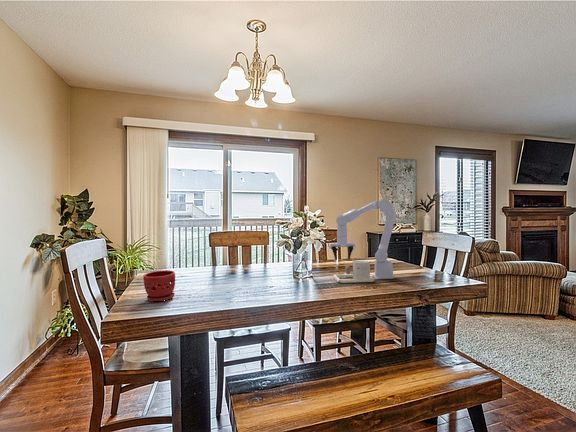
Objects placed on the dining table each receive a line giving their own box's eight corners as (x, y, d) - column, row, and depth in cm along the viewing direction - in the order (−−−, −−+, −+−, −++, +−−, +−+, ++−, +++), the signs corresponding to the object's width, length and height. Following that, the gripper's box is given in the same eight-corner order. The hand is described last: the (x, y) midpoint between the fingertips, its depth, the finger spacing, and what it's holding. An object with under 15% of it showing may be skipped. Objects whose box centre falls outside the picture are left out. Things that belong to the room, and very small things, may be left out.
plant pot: (152, 295, 152) (151, 270, 152) (180, 295, 152) (179, 270, 151) (138, 304, 139) (137, 276, 139) (168, 304, 139) (168, 276, 138)
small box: (366, 279, 179) (366, 260, 178) (370, 281, 173) (370, 262, 173) (352, 279, 178) (352, 260, 178) (355, 282, 173) (355, 262, 172)
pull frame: (363, 273, 192) (363, 265, 192) (374, 281, 172) (374, 272, 172) (330, 274, 191) (330, 266, 190) (338, 282, 171) (338, 273, 171)
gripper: (352, 235, 194) (352, 257, 194) (328, 235, 193) (328, 258, 193) (355, 236, 187) (356, 259, 187) (330, 236, 186) (331, 260, 186)
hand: (342, 259), depth 190 cm, fingers open, 7 cm apart
